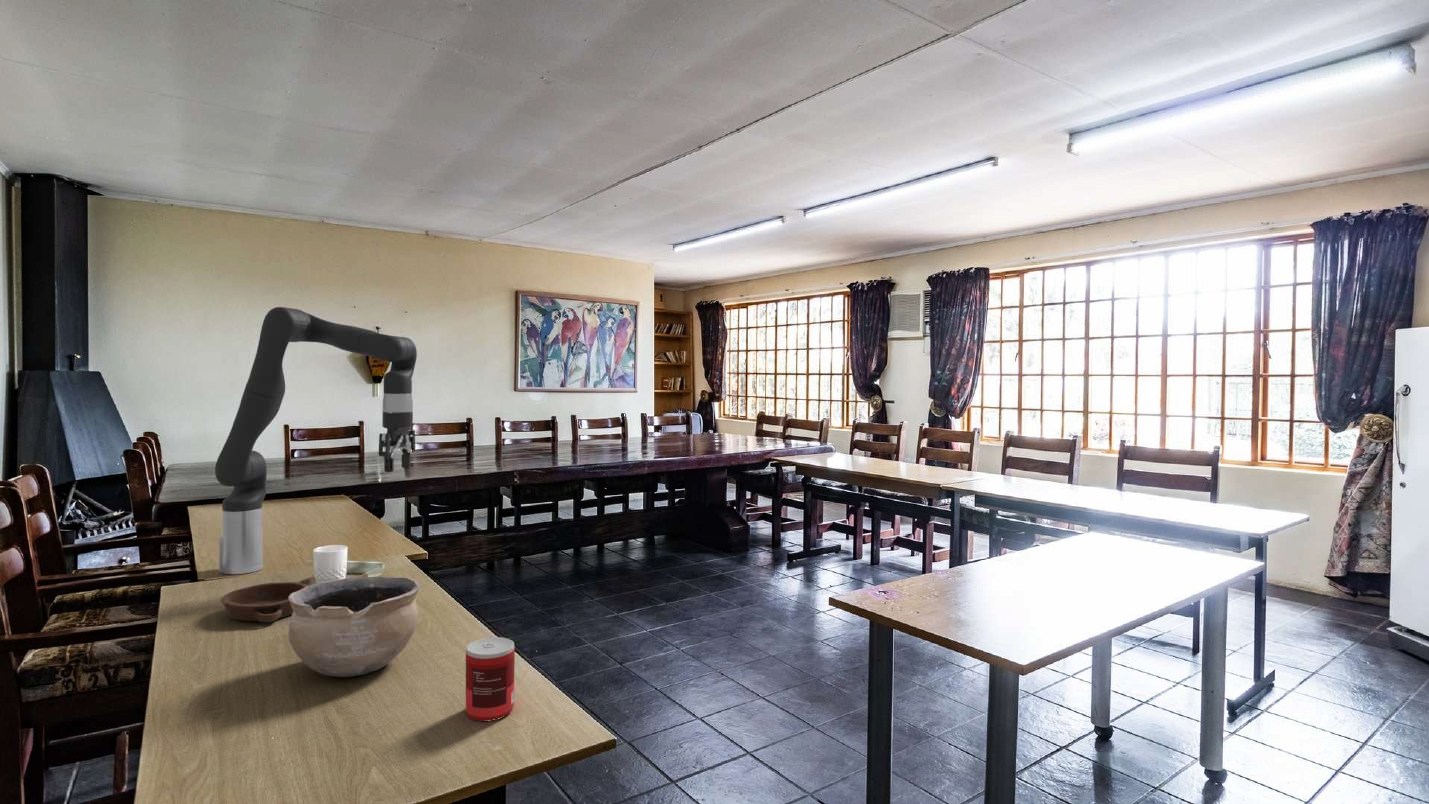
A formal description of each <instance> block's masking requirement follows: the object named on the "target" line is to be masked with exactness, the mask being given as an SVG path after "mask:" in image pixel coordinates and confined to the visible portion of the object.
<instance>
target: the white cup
mask: <svg viewBox="0 0 1429 804" xmlns="http://www.w3.org/2000/svg"><path fill="white" fill-rule="evenodd" d="M312 554H313V555H312V556H313V571H314V573H313V574H314V575H315V584H319V583H322V582H330V581H335V580H340V579H346V578H347V577H346V576H347V572H346V570H347V561H348V546H347V545H343V544H331V545H330V544H329V545H324V546H319V547H316V548H314V549H313V550H312ZM315 584H314V585H315Z"/></svg>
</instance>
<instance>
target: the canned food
mask: <svg viewBox="0 0 1429 804" xmlns="http://www.w3.org/2000/svg"><path fill="white" fill-rule="evenodd" d="M515 648H516V647H515V642H514V641H513V640H511V639H509V638H506V637H502V636H501V637H500V636H497V637H496V636H492V637H490V636H489V637H484V638H483V637H482V638H479V639H476V640H474V641H471V642H469V643H468V644H467V645H466V647H465V649H466V650H465V712H466V715H467V716H469V717H470V718H469V717H468V718H469V719H471V720H473V719H474V720H473V721H476V720H478V721H477V722H482V721H485V720H486V721H487V720H493V719H498V718H501V717H503V716H506V715H507V714H509V713H510V712H511V711H512V712H513V709H514V705H515V661H516V660H515V657H516V656H515ZM512 712H511V713H512ZM511 713H510V714H511ZM510 714H509V715H510ZM507 716H508V715H507ZM507 716H506V717H507Z"/></svg>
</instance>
